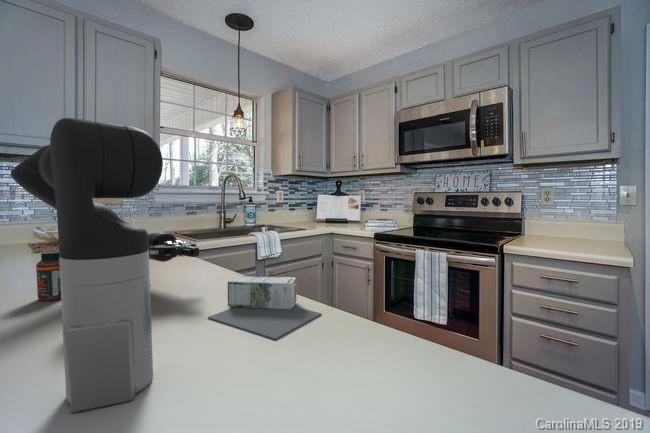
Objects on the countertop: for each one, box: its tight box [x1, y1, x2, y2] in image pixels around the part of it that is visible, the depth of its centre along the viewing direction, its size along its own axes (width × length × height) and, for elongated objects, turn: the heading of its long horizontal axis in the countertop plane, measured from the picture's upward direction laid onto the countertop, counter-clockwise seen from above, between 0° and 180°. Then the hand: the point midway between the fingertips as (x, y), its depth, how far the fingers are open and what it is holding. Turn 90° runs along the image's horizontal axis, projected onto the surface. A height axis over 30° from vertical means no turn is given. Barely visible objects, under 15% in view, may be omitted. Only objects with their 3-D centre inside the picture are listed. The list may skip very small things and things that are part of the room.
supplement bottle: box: [35, 250, 61, 302], centre depth 77 cm, size 6×6×11 cm
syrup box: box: [227, 275, 297, 309], centre depth 71 cm, size 6×6×14 cm
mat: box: [207, 306, 322, 341], centre depth 65 cm, size 18×14×1 cm
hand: (196, 252), depth 76 cm, fingers closed
